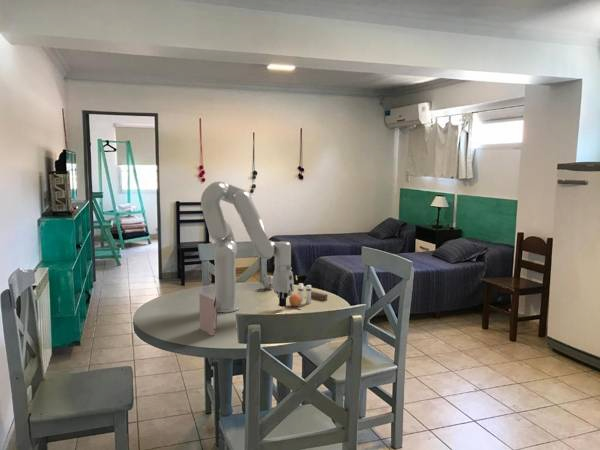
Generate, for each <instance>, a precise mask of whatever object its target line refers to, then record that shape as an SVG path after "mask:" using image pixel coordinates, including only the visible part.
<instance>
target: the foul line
mask: <svg viewBox="0 0 600 450" xmlns="http://www.w3.org/2000/svg"><path fill="white" fill-rule="evenodd" d="M278 305H279V303H278ZM278 305H277V306H278ZM285 307H286V308H290V309H294V310H299V311H301V310H302V309H301V308H297V307H295V306H290V305H286V306H285Z"/></svg>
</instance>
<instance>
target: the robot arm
mask: <svg viewBox="0 0 600 450" xmlns="http://www.w3.org/2000/svg"><path fill="white" fill-rule="evenodd" d="M221 201H223V202H225V203H228V204H231V205H233V206H234V209H235V210H236V212H237V214H238V216H239V219H240V221H241V222H242V223H243V226H244V229H245V231H246V232H247V233H246V234H247V235H248V236H249V239H250V242H251V244H252V245H253V247H254V250H255V251H256V254H257V255H258V256H259V258H261V259H263V260H265V261H266V260H270V259H271V258H272V257H274V271H273V273H272V274H273V275H272V276H273V288H272V289H273V293H275V294H276V295H277V298H279V299H278V304H279V307H281V308H283V307H286V306H287V298H289V297H290V296H291V295H292V294H293V292H294V291H295V284H294V283H295V281H294V272H293V271H292V269H293V267H292V266H291V265H292V245H291V243H290V242H289V241H273V240H272V241H271V240H270V239H269V237H268V235H267V233H266V231H265V228H264V223H263V220H262V217H261V215H260V214H259V211H258V210H257V208H256V205H255V204H254V201H253V200H252V195H251V193H250V192H249V191H248V190H246V189H243V188H240V187H237V186H235V185H232V184H229V183H227V182H224V181H214V182H212V183H210V184H209V185H207V187H206V188H205V189H204V190H203V192H202V194H201V197H200V206H201V209H202V213H203V217H204V221H205V224H206V228H207V231H208V234H209V237H210V238H211V239H212V240H214V242H215V246H216V247H215V250H214V254H213V260H214V295H215V294H216V296H217V297H216V309H217V313H222V312H223V313H226V314H227V313H233V312H237V311H239V309H240V306H239V304H237V303H236V302H237V301H236V299H237V298H236V290H237V289H236V285H237V284H236V283H237V281H236V280H237V279H236V278H237V277H236V255H237V253H238V246H237V242H236V239H235V237H234V232H233V230H232V226H231V224H230V223H229V222H228V220H226V219H225V216H224V214H223V210H222V207H221V204H220V203H221ZM223 313H222V314H223Z"/></svg>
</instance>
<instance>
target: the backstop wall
mask: <svg viewBox="0 0 600 450" xmlns="http://www.w3.org/2000/svg"><path fill="white" fill-rule="evenodd" d="M311 299H315V300H319V301H324V302H326V301H328V294H327V293H323V292H317V291H313V290H311Z"/></svg>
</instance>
